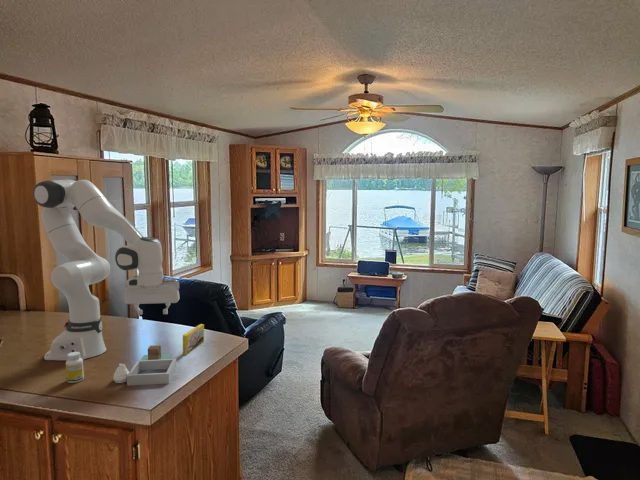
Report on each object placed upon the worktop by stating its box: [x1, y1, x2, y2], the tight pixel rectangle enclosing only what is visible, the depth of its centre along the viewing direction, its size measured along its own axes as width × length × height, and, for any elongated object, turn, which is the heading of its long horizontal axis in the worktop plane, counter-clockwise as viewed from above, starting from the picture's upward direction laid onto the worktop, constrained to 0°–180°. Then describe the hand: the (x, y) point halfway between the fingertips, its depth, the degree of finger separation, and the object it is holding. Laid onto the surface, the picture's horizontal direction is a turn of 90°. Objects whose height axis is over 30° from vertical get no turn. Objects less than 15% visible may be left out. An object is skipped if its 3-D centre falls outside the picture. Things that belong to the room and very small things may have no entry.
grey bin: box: [126, 358, 177, 387], centre depth 165 cm, size 14×14×4 cm
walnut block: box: [147, 344, 162, 360], centre depth 179 cm, size 4×4×5 cm
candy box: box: [182, 323, 205, 356], centre depth 194 cm, size 16×2×8 cm, turn 168°
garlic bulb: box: [112, 363, 130, 384], centre depth 162 cm, size 6×6×5 cm
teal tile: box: [140, 353, 173, 360], centre depth 179 cm, size 11×11×1 cm
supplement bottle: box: [65, 352, 85, 384], centre depth 161 cm, size 5×5×10 cm
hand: (152, 314), depth 177 cm, fingers open, 8 cm apart
